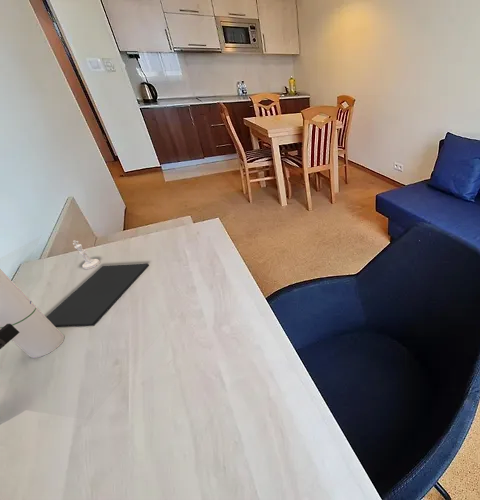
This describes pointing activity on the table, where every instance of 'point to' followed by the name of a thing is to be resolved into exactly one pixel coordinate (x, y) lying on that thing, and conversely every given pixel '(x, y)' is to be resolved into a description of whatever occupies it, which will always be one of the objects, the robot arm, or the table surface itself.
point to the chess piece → (86, 257)
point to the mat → (95, 295)
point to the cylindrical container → (26, 321)
